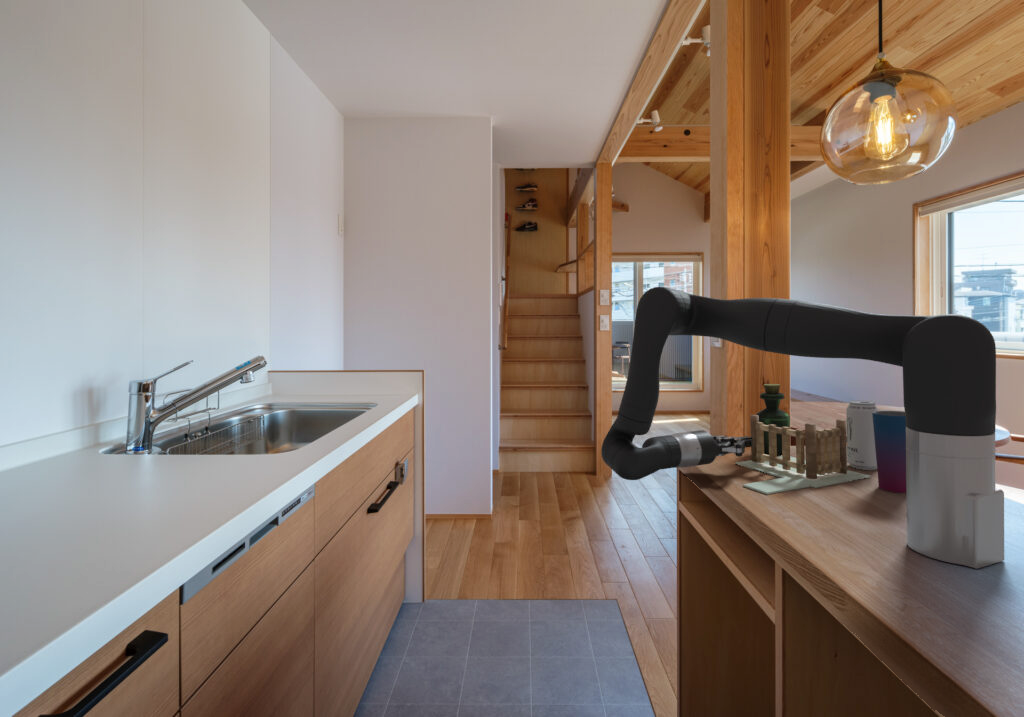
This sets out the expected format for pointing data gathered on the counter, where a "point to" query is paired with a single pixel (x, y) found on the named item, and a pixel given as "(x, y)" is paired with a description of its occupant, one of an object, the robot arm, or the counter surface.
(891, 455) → the cup
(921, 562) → the counter surface
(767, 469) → the board
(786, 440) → the swing panel
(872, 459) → the energy drink can
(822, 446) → the fixed fence panel
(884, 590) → the counter surface
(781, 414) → the potion bottle
